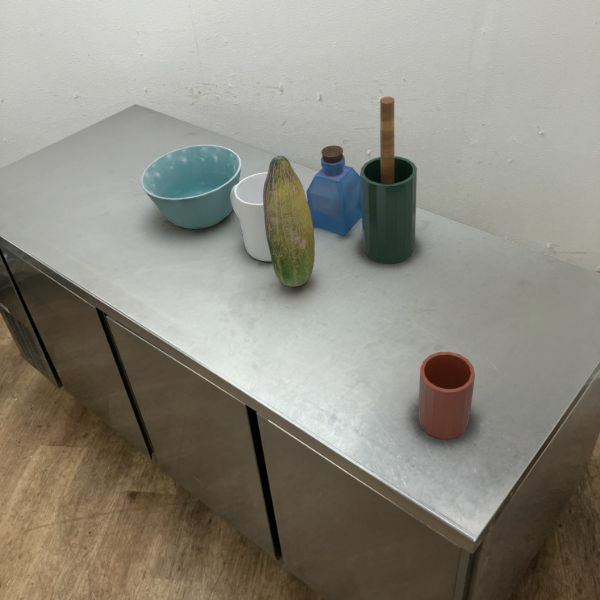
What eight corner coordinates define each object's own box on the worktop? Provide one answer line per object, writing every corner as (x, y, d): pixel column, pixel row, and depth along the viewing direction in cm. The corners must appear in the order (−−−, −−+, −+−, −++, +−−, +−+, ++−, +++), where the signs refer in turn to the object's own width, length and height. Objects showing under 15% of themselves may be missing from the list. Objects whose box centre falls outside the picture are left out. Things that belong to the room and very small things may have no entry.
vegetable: (326, 277, 91) (315, 151, 77) (307, 306, 87) (291, 178, 73) (288, 268, 93) (270, 143, 80) (267, 295, 89) (245, 170, 76)
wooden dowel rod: (403, 245, 93) (404, 101, 78) (382, 251, 92) (380, 108, 77) (393, 233, 95) (393, 91, 80) (373, 239, 94) (369, 97, 80)
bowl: (138, 239, 102) (123, 195, 96) (175, 184, 113) (163, 142, 107) (231, 246, 98) (222, 201, 93) (260, 188, 109) (253, 145, 104)
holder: (478, 428, 70) (485, 381, 65) (433, 446, 69) (436, 399, 64) (452, 393, 74) (457, 345, 68) (409, 409, 73) (411, 361, 67)
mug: (218, 239, 100) (205, 182, 93) (257, 214, 104) (247, 158, 97) (271, 271, 93) (261, 211, 86) (311, 242, 97) (305, 184, 90)
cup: (424, 254, 92) (427, 176, 84) (376, 269, 91) (374, 191, 82) (400, 226, 98) (401, 150, 89) (355, 241, 96) (351, 164, 87)
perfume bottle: (364, 213, 101) (361, 144, 93) (344, 235, 97) (340, 166, 89) (330, 204, 104) (324, 136, 96) (309, 225, 100) (302, 157, 92)
